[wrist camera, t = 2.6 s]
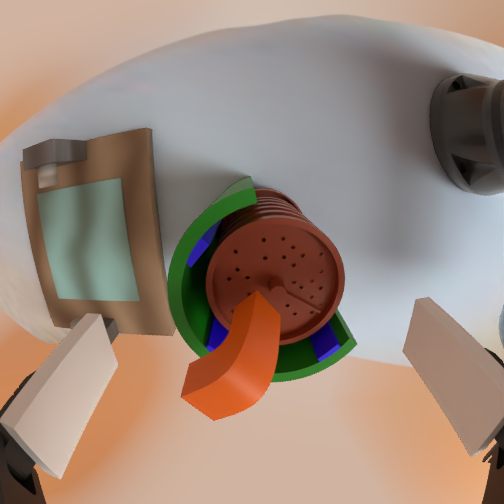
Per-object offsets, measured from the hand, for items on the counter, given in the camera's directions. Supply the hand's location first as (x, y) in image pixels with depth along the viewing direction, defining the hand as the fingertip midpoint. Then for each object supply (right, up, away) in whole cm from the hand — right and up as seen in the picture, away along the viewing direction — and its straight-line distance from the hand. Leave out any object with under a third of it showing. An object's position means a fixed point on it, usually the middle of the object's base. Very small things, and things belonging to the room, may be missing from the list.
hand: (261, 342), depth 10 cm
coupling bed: (-19, +5, +17) cm, 26 cm away
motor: (0, +5, +17) cm, 18 cm away
